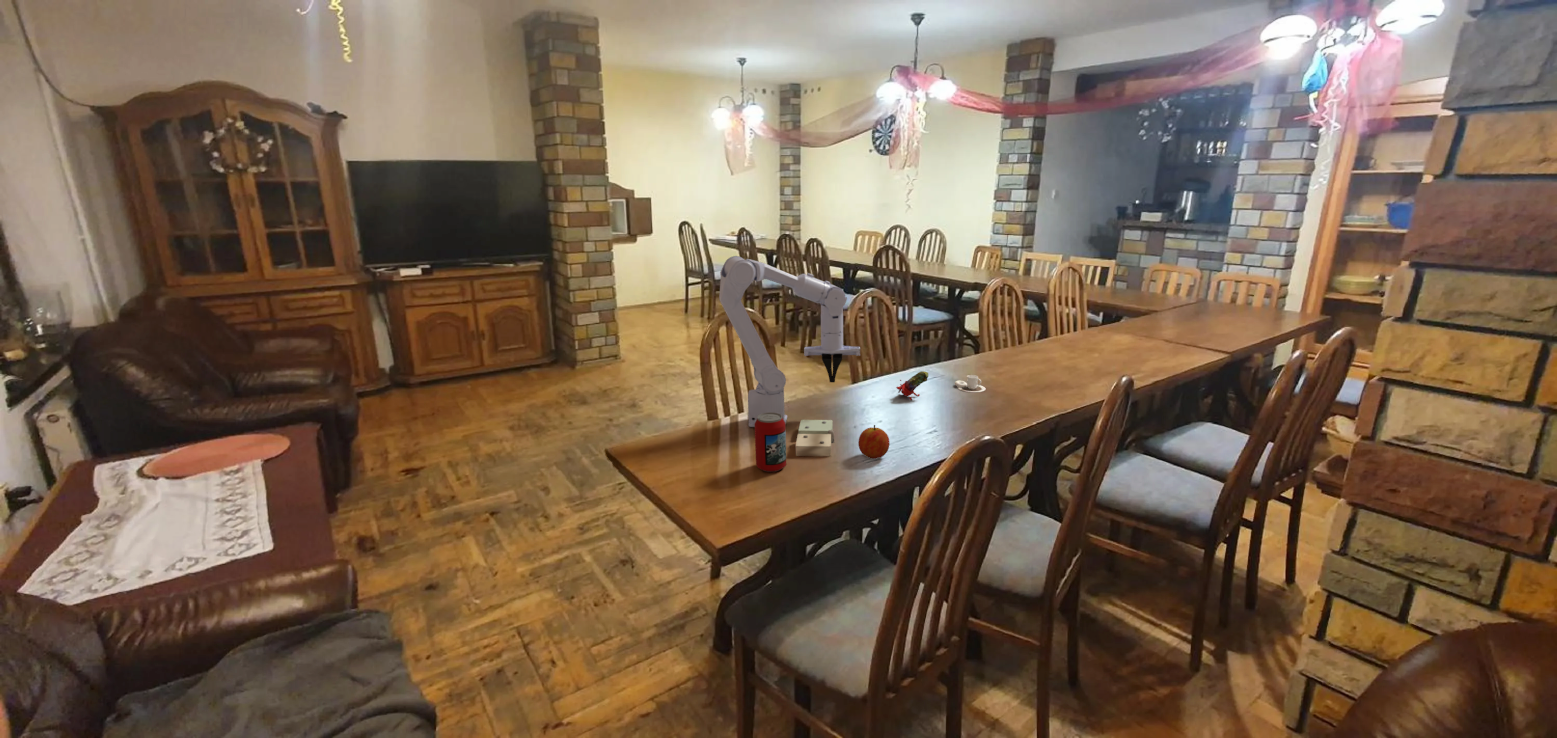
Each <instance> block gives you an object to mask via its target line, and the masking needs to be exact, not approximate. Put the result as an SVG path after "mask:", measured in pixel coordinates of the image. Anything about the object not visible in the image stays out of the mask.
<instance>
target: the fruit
mask: <svg viewBox="0 0 1557 738" xmlns="http://www.w3.org/2000/svg"><path fill="white" fill-rule="evenodd" d="M857 442H858V447H859V451H860V452H861V454H862V455H863V456H864V457H867V458H869V459H872V460H877V459H880V458H883V457H884V456H885V455H886V454H887V453H888V451H889V449H890V437H889V435H888V433H887V432H886V431H885V430H884V429H882V428H879V427H876V425H875V424H873V427H867V428H865V429H864V430H863V431H862V432H861V433H860V435H859V437H858V441H857Z"/></svg>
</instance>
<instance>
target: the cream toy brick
mask: <svg viewBox="0 0 1557 738" xmlns="http://www.w3.org/2000/svg"><path fill="white" fill-rule="evenodd" d="M833 421H834V420H832V419H800V423H799V427H798V434H828V431H829V430H834V429H833V428H834V427H833V426H834V425H833V424H834V422H833Z"/></svg>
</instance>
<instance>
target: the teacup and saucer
mask: <svg viewBox="0 0 1557 738" xmlns="http://www.w3.org/2000/svg"><path fill="white" fill-rule="evenodd" d="M978 381H979V383H978ZM981 384H982V380H981V379H980V378H979V376H978V375H975V374H968V375H966V381H964V380H956V381H955V382H954V385H955V386H956V387H957V389H958V390H960V391H962V392H966V393H982V392H984V391H986V387H985V386H983V385H981ZM964 388H968V389H969V390H965V389H964ZM977 388H980V390H976V389H977ZM971 390H972V391H971ZM973 390H974V391H973ZM975 390H976V391H975Z"/></svg>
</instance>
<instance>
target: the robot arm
mask: <svg viewBox="0 0 1557 738" xmlns="http://www.w3.org/2000/svg"><path fill="white" fill-rule="evenodd" d="M719 273H720V275H719V276H720V284H719V297H718V300H719V302H720V304H721V306H722V308H723V310H724V312H725V313H726V316H727V318H728V319H729V321H730V323H731V325H732V327H733V329H734V330H735V333H736V335H737V336H738V339H739V340H740V342H741V344H742V346H743V348H744V351H745V352H746V353H747V356H748V357H749V359H750V363H751V365H752V367H753V377H754V379H755V380H756V381H757V385H756V388H755V389H749V390H748V395H747V411H748V412H747V413H748V414H747V416H748V427H749V428H755V422H756V420H757V417H758V415H760V414H763V413H769V412H772V413H778V414H781V415H782V418H783V420H784V422H785V426H786V424H787V421H788V415H787V414H786V413H785V385H786V381H787V379H786V376H785V373H784V372H783V371H782V370H780V369H779V368H778V367H777V366H776V364H775V362H774V361H773V359H772V357H771V356H770V354H769V352H768V351H767V349H766V347H765V344H764V343H763V341H762V339H761V337H760V335H759V333H758V331H757V330H756V328H755V325H754V324H753V322H752V319H751V318H750V316H749V313H748V312H747V310H746V308H745V305H744V304H743V302H742V298H743V297H744V294H745V292H746V290H747V289H748V288H749V287H750V285H751V284H752V283H753V282H754V281H755V282H760V281H763V280H766V281H767V280H768V281H771V282H774V283H775V284H780V285H783V286H785V287H788V288H791V289H792V290H793V294H794V295H795V296H797V297H799V298H803V299H805V300H808V301H811V302H813V303H815V304H820V345H815V346H805V347H804V348H803V352H804V353H803V354H804V357H807V356H821V361H822V363H823V364H824V366H825V369H826V372H827V375H828V379H829V383H835V382H836V378H837V372H838V370H839V367H840V365H841V363H842V360H843V356H856V357H857V356H858V357H859V356H861V347H860V346H851V345H844V311H843V310H844V306H845V305H846V303H847V299H848V298H847V297H846V293H845V291H844V290H843V289H842V288H841V287H839V286H836V285H834V284H832V283H831V281H828V280H825V281H823V280H821V279H819V278H816V277H814V276H815V275H814V274H812V273H809V272H807V274H806V273H801V274H799V275H793V274H791V273H788V272H786V271H784V270H781V269H779V268H777V267H774V266H771V265H769V264H767V263H765V262H762V261H759V260H754V259H750V258H746V259H745V258H743V257H741V256H737V255H734V256H731V257H728V258H727V259H726V260H725V262H724V263H723V265H722V268H721V270H720V272H719Z"/></svg>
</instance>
